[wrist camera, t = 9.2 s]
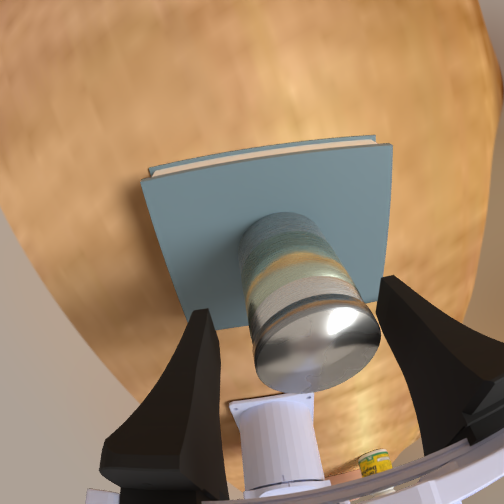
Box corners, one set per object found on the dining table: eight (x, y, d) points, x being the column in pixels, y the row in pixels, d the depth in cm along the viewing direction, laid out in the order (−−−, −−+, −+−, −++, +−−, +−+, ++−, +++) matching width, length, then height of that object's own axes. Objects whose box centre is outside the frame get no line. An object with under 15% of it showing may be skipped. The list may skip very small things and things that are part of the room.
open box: (355, 485, 58) (358, 499, 55) (284, 500, 58) (286, 514, 55) (366, 467, 48) (371, 483, 45) (280, 485, 49) (282, 503, 45)
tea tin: (326, 277, 18) (374, 375, 12) (246, 295, 18) (266, 404, 12) (321, 202, 15) (387, 293, 9) (228, 222, 15) (243, 329, 9)
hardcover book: (366, 277, 21) (379, 300, 19) (193, 307, 21) (191, 333, 19) (372, 133, 16) (392, 145, 14) (150, 165, 16) (140, 182, 14)
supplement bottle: (373, 459, 46) (386, 502, 38) (351, 461, 44) (363, 508, 36) (392, 446, 43) (407, 492, 35) (370, 449, 42) (384, 498, 34)
